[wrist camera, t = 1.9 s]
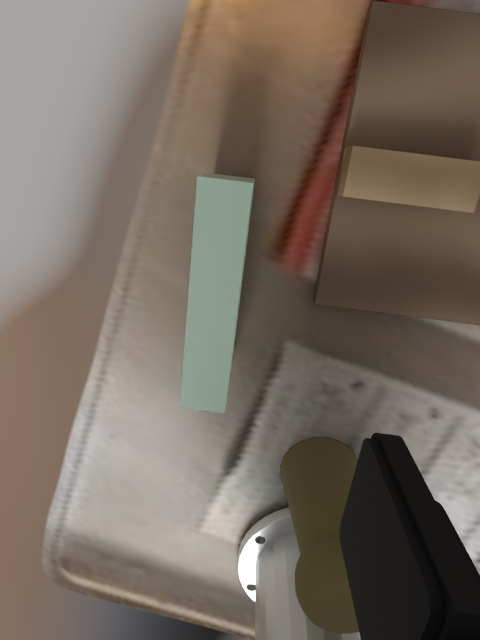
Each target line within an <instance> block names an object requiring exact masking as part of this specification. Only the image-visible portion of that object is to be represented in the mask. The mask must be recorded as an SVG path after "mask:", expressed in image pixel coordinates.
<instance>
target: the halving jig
mask: <svg viewBox="0 0 480 640" xmlns="http://www.w3.org/2000/svg"><path fill="white" fill-rule="evenodd" d="M313 301H314V303H315V304H317V305H325V306H333V307H341V308H349V309H357V310H364V311H372V312H380V313H388V314H396V315H404V316H412V317H420V318H428V319H436V320H444V321H452V322H459V323H467V324H475V325H480V14H476V13H468V12H460V11H452V10H444V9H436V8H428V7H420V6H412V5H404V4H396V3H388V2H380V1H373V2H372V4H371V5H370V7H369V8H368V14H367V19H366V24H365V29H364V35H363V40H362V45H361V50H360V56H359V61H358V66H357V71H356V77H355V82H354V87H353V92H352V98H351V103H350V108H349V113H348V119H347V124H346V129H345V134H344V140H343V145H342V150H341V155H340V161H339V166H338V171H337V176H336V182H335V187H334V192H333V197H332V203H331V208H330V213H329V218H328V224H327V229H326V234H325V239H324V245H323V250H322V255H321V260H320V266H319V271H318V276H317V281H316V286H315V292H314V297H313Z"/></svg>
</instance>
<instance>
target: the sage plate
mask: <svg viewBox="0 0 480 640" xmlns="http://www.w3.org/2000/svg"><path fill="white" fill-rule="evenodd" d="M254 185H255V179H254V178H246V177H238V176H230V175H222V174H207V175H201V176H197V185H196V199H195V212H194V225H193V238H192V252H191V265H190V278H189V291H188V305H187V318H186V331H185V344H184V358H183V371H182V384H181V397H180V408H185V409H193V410H200V411H208V412H216V413H224V414H225V412H226V405H227V397H228V390H229V383H230V376H231V369H232V362H233V355H234V347H235V338H236V330H237V322H238V314H239V306H240V298H241V290H242V282H243V274H244V266H245V258H246V250H247V241H248V233H249V225H250V217H251V209H252V201H253V193H254Z"/></svg>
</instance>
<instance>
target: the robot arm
mask: <svg viewBox="0 0 480 640" xmlns="http://www.w3.org/2000/svg"><path fill="white" fill-rule="evenodd" d="M339 537H340V544H341V549H342V553H343V558H344V563H345V567H346V572H347V577H348V582H349V586H350V591H351V596H352V600H353V605H354V610H355V614H356V619H357V624H358V628H359V632H356V633H351V634H342V633H335V632H330V631H326V630H324V629H322V628H320V627H318V626H316V625H315V624H314V623H313V622H312V621H311V620H309V619H308V617H307V616H306V615H305V613H304V612H303V610H302V608H301V606H300V604H299V602H298V599H297V596H296V591H295V569H296V564H297V561H298V559H299V556H300V550H299V546H298V542H297V538H296V534H295V530H294V526H293V522H292V518H291V514H290V510H289V507H288V508H285V509H281V510H278V511H276V512H274V513H271V514H269V515H267V516H265V517H264V518H262V519H261V520H260V521H258V522H257V523H255V524H254V525H253V526H252V527H251V529H250V530H249V531H248V532H247V533H246V535H245V536H244V538H243V540H242V541H241V544H240V547H239V551H238V560H237V571H238V577H239V580H240V583H241V585H242V587H243V589H244V590H245V592H246V593H247V595H248V596H249V597H250V598H251V599H252V600H253V601H254V602H255V640H480V575H479V573H478V571H477V569H476V568H475V566H474V564H473V562H472V560H471V558H470V556H469V555H468V553H467V551H466V549H465V547H464V545H463V543H462V541H461V540H460V538H459V536H458V534H457V532H456V530H455V528H454V526H453V525H452V523H451V521H450V519H449V517H448V515H447V513H446V512H445V510H444V508H443V507H442V506H441V504H440V503H438V502H437V501H435V500H434V498H433V496H432V494H431V492H430V490H429V488H428V486H427V485H426V483H425V481H424V479H423V477H422V475H421V473H420V471H419V469H418V467H417V465H416V463H415V462H414V460H413V458H412V456H411V454H410V452H409V450H408V448H407V446H406V444H405V442H404V440H403V439H402V437H400V436H396V435H389V434H381V433H374V434H373V435H372V437H371V439H369V438H366V439H365V440H364V441H363V444H362V448H361V451H360V455H359V458H358V462H357V466H356V469H355V473H354V476H353V480H352V484H351V487H350V491H349V494H348V498H347V501H346V505H345V509H344V512H343V516H342V519H341V523H340V530H339Z"/></svg>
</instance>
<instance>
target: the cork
mask: <svg viewBox="0 0 480 640" xmlns="http://www.w3.org/2000/svg"><path fill="white" fill-rule="evenodd" d="M357 462H358V461H357V459H356V456H355V454H354V453H353V452H352V451H351V450H350V448H349V447H348V446H346V445H344V444H343V443H341V442H339V441H337V440H333V439H329V438H311V439H308V440H304V441H301V442H299V443H298V444H296V445H295V446H293V447H291V448H290V449H289V451H288V452H287V453H286V454H285V455H284V457H283V460H282V463H281V466H280V467H281V478H282V482H283V486H284V490H285V494H286V498H287V502H288V506H289V510H290V514H291V518H292V522H293V526H294V530H295V534H296V538H297V542H298V546H299V550H300V556H299V559H298V561H297V564H296V569H295V591H296V596H297V599H298V602H299V604H300V606H301V608H302V610H303V612H304V613H305V615H306V616H307V617H308V619H309V620H311V621H312V622H313V623H314V624H315V625H316V626H318V627H320V628H322V629H324V630H326V631H330V632H335V633H342V634H351V633H356V632H359V628H358V624H357V619H356V614H355V610H354V605H353V600H352V596H351V591H350V586H349V582H348V577H347V572H346V567H345V563H344V558H343V553H342V549H341V544H340V537H339V530H340V523H341V519H342V516H343V512H344V509H345V505H346V501H347V498H348V494H349V491H350V487H351V484H352V480H353V476H354V473H355V469H356V466H357Z"/></svg>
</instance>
